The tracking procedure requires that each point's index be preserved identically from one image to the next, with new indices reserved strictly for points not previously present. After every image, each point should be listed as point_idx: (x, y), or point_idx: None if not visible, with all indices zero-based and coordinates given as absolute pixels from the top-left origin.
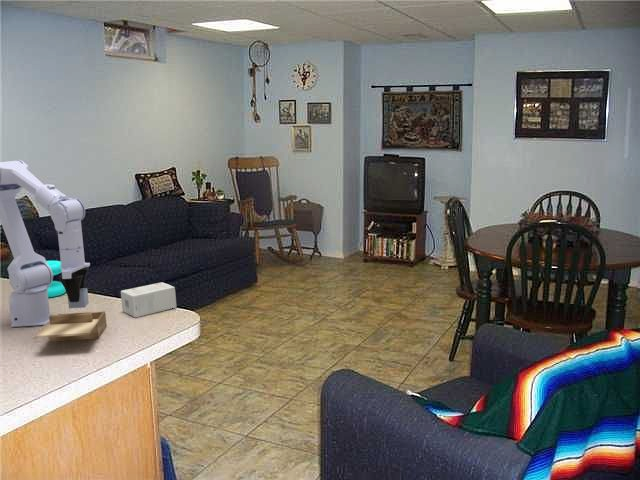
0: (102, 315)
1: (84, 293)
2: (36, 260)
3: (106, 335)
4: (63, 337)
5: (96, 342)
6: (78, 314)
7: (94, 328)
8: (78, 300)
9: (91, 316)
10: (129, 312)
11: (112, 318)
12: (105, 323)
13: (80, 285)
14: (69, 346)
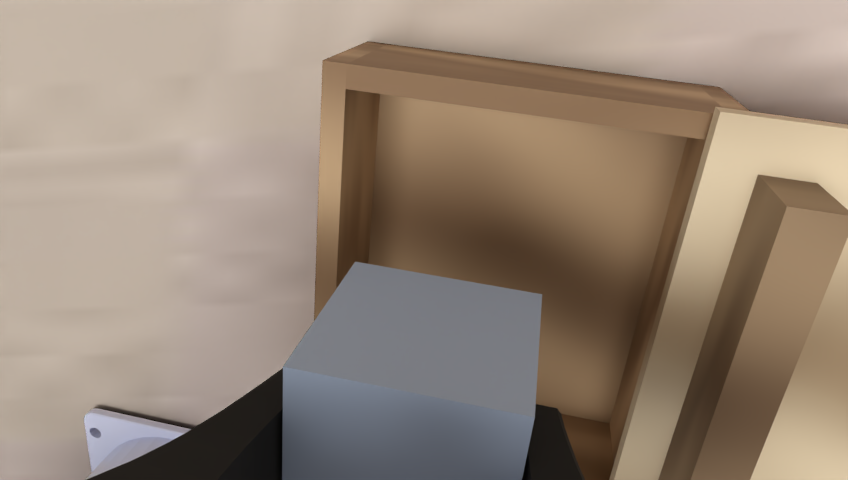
0: (468, 80)
1: (493, 388)
2: None
3: (650, 20)
4: None
5: (823, 99)
6: (772, 353)
7: None
8: (559, 415)
9: (822, 202)
10: None
11: (171, 3)
12: (395, 50)
13: (258, 478)
14: None
